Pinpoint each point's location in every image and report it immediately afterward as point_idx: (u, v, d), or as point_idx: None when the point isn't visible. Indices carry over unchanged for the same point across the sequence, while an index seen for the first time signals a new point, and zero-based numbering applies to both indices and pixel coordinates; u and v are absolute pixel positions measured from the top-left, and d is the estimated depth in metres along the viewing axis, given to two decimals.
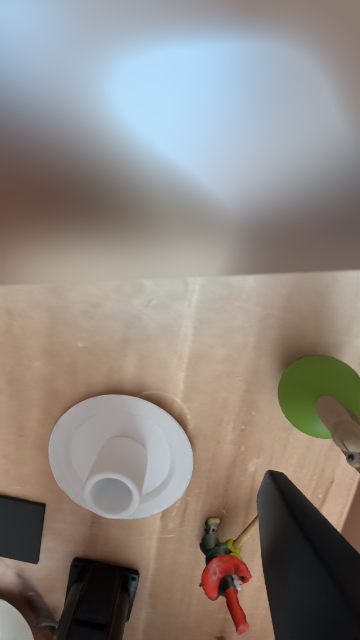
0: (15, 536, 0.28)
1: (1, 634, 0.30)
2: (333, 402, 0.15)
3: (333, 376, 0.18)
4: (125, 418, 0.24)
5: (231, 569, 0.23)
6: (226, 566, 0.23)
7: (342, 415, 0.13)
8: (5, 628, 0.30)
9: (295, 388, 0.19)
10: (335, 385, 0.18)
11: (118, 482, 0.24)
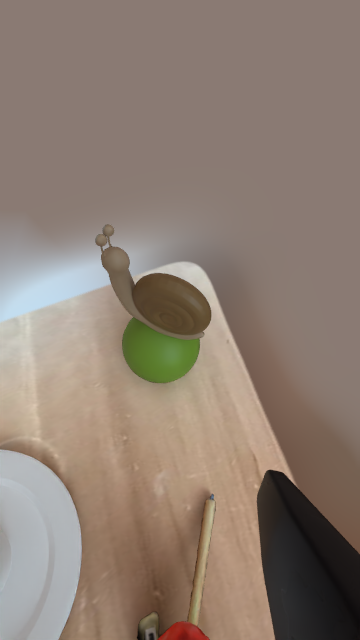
0: None
1: None
2: None
3: None
4: None
5: None
6: None
7: None
8: None
9: (126, 333, 0.20)
10: None
11: None
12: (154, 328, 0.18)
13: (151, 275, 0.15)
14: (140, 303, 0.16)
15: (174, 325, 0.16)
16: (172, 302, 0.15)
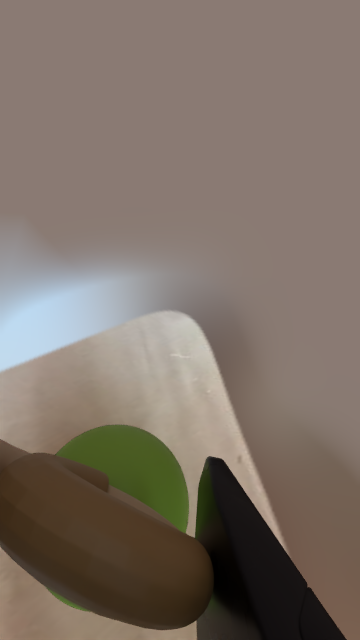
0: None
1: None
2: None
3: (83, 441, 0.10)
4: None
5: None
6: None
7: None
8: None
9: None
10: (84, 452, 0.10)
11: None
12: None
13: (17, 491, 0.05)
14: None
15: None
16: None
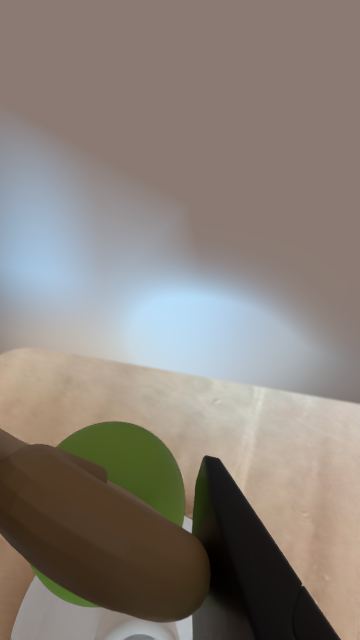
0: None
1: None
2: None
3: (82, 437, 0.10)
4: None
5: None
6: None
7: None
8: None
9: None
10: (83, 447, 0.10)
11: None
12: None
13: (19, 479, 0.05)
14: None
15: None
16: None
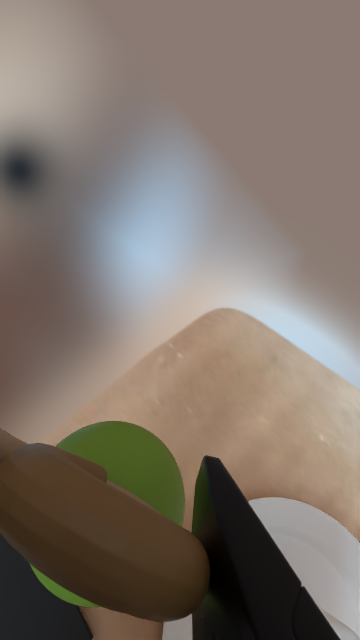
0: None
1: None
2: None
3: (82, 436, 0.10)
4: (327, 574, 0.16)
5: None
6: None
7: None
8: None
9: None
10: (83, 446, 0.10)
11: None
12: None
13: (18, 478, 0.05)
14: None
15: None
16: None
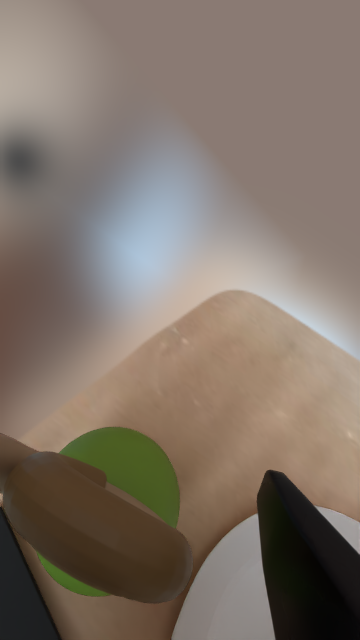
0: None
1: None
2: None
3: (85, 442, 0.11)
4: None
5: None
6: None
7: None
8: None
9: None
10: (86, 451, 0.11)
11: None
12: None
13: (30, 483, 0.06)
14: None
15: None
16: None
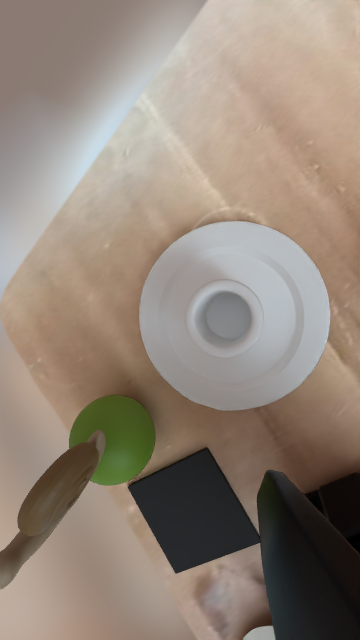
0: (209, 515, 0.21)
1: None
2: None
3: None
4: (195, 272, 0.20)
5: None
6: None
7: None
8: None
9: None
10: None
11: (241, 336, 0.18)
12: (91, 475, 0.17)
13: (20, 530, 0.13)
14: (57, 518, 0.14)
15: (85, 482, 0.14)
16: (53, 512, 0.13)
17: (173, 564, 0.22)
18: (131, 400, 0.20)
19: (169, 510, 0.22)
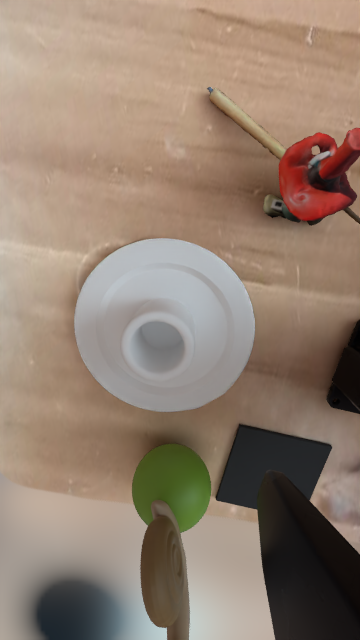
0: (284, 463, 0.23)
1: None
2: None
3: None
4: (111, 321, 0.21)
5: (297, 170, 0.14)
6: (291, 179, 0.14)
7: None
8: None
9: None
10: None
11: None
12: (179, 532, 0.18)
13: None
14: (182, 587, 0.16)
15: (175, 548, 0.16)
16: (172, 595, 0.14)
17: None
18: (158, 450, 0.21)
19: (257, 486, 0.23)
